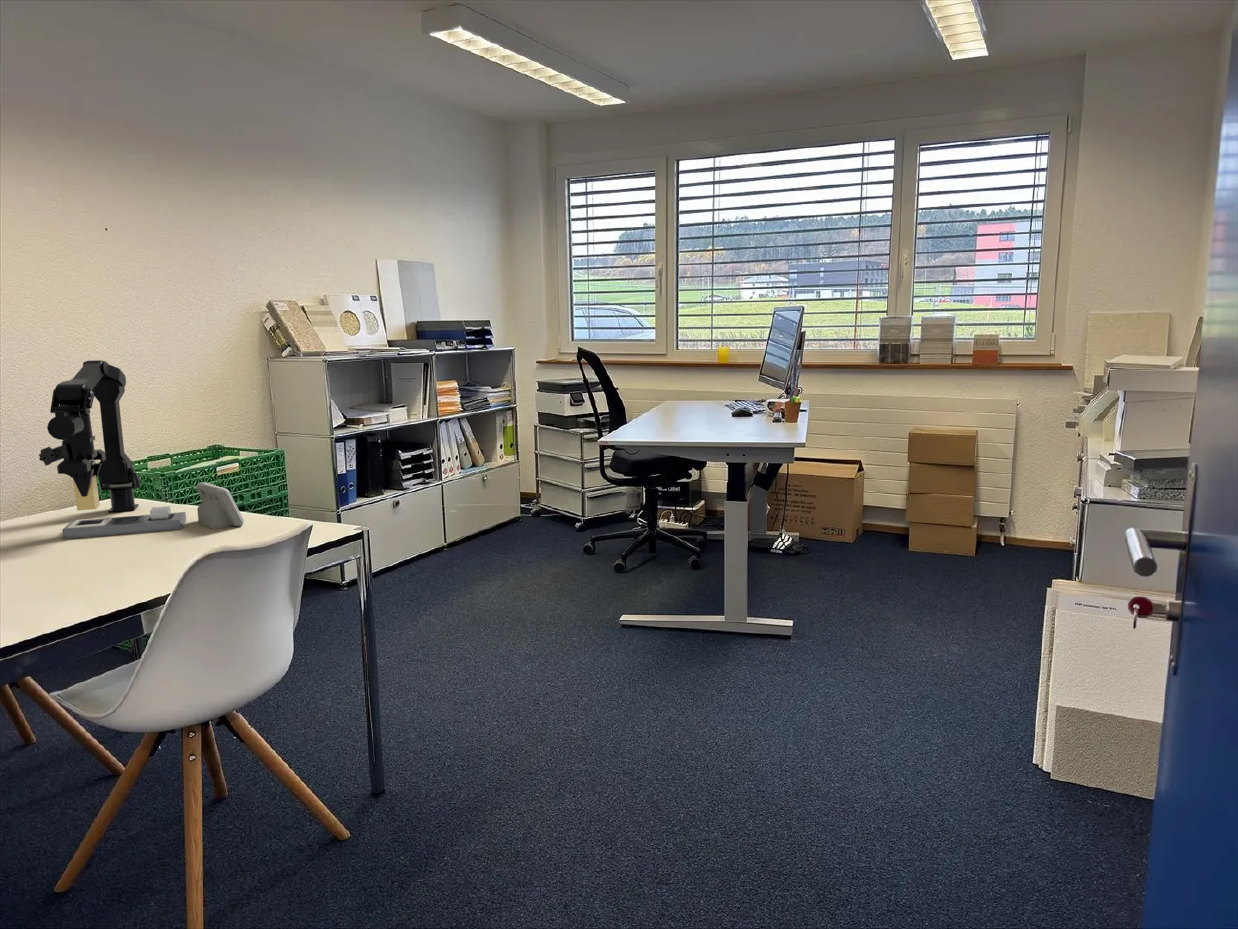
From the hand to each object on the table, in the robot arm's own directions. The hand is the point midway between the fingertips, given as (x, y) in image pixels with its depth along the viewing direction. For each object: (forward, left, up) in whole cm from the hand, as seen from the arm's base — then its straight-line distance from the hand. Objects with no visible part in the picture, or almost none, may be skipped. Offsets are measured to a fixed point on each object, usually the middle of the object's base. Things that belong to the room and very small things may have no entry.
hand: (86, 494), depth 204 cm
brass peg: (0, 0, -4) cm, 4 cm away
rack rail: (0, +8, -10) cm, 13 cm away
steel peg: (0, +16, -10) cm, 19 cm away
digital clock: (+2, +30, -10) cm, 32 cm away
